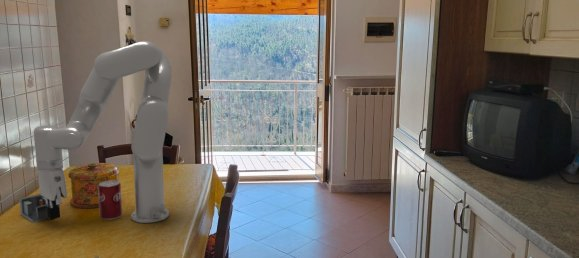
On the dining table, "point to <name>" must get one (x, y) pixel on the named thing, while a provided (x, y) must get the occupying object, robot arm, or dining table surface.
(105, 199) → the soda can
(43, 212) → the blue-grey small box
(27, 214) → the grey desk caddy
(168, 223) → the dining table surface
